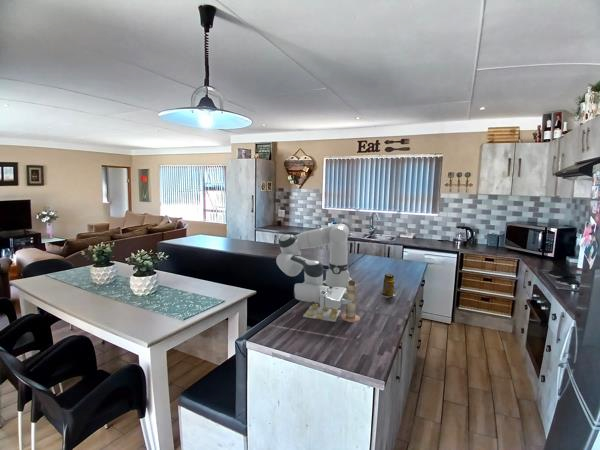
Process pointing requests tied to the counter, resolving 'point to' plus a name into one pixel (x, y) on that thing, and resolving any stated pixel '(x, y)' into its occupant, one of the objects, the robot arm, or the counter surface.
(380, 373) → the counter surface
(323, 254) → the counter surface
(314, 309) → the mat
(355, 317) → the coaster
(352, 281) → the pepper mill
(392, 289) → the condiment
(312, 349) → the counter surface
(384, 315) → the counter surface
